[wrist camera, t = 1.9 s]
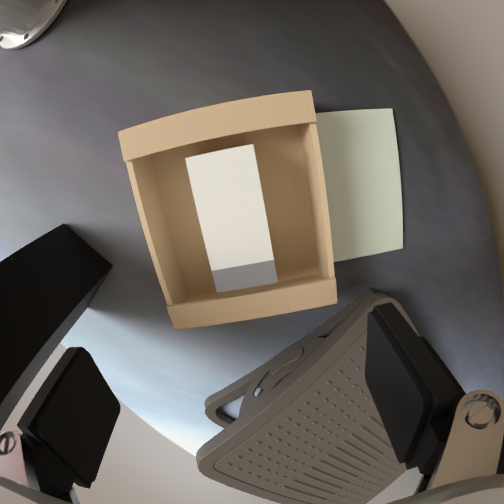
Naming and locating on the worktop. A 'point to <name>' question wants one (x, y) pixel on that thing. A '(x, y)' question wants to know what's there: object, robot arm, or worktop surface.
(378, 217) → the mat
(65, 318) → the tissue box
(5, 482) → the robot arm
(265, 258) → the capped box
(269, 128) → the carton
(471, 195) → the worktop surface
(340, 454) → the foot rest
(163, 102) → the worktop surface
